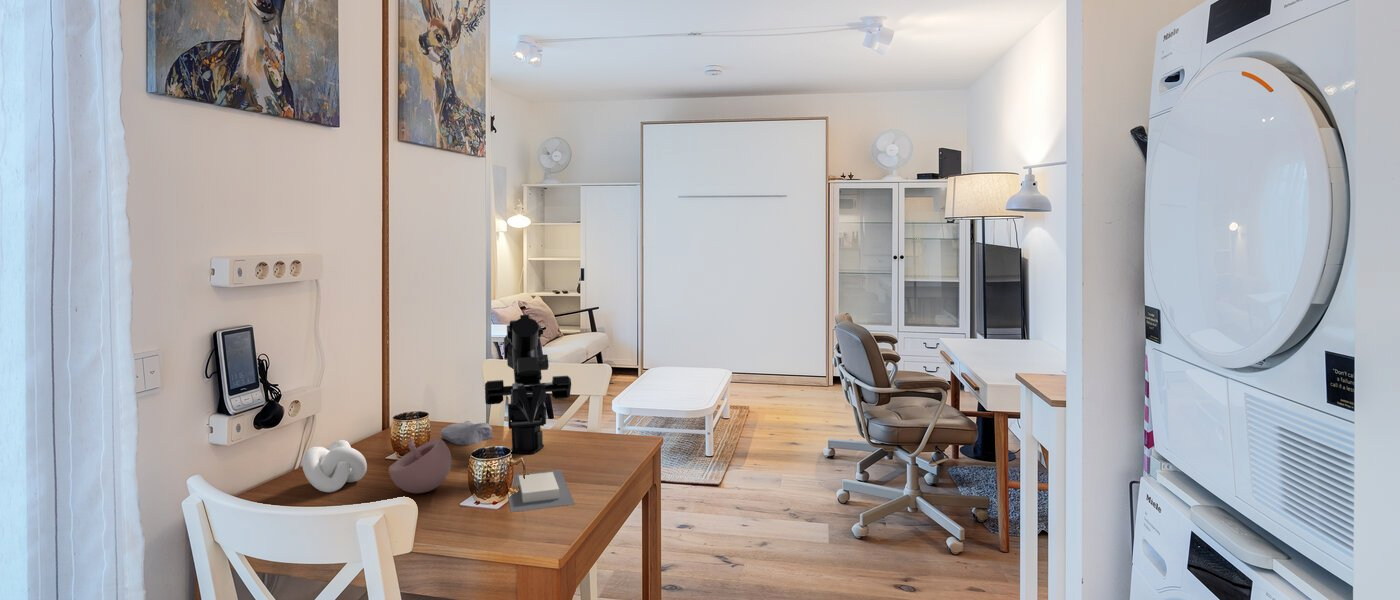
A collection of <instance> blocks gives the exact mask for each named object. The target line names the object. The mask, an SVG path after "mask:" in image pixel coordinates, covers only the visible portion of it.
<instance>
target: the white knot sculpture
mask: <svg viewBox="0 0 1400 600" xmlns="http://www.w3.org/2000/svg"><path fill="white" fill-rule="evenodd" d="M301 465H302V470H303V473H304V475H305V477H306V479H307V481H308V482H309V484H310V485H312V487H314V488H315V489H317V490H318V491H320V492H324V493H334V492H337V491H338V490H340V489H341V488H342V487H343V486H344V485H345V484H346V483H355V482H357V481H360V480H361V479H363V478H364V476H365V474H367V469H368V464H367V460H366V458H365V456H364V455H363V454H362V453H361V452H360V451H359V450H357V449H355V448H353V447H351V445H350V443H349V442H348V441H347V440H344V439H339V440H336V441H334V442H333V443H331V445H329V447H328V448H325V447H323V446H312V447H311V448H308V449H307V450H306V451H305V452H304V454H303V456H302V460H301Z"/></svg>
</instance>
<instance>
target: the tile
mask: <svg viewBox="0 0 1400 600" xmlns="http://www.w3.org/2000/svg"><path fill="white" fill-rule="evenodd" d="M519 488H520V493H521V497H522V502H523V503H530V502H538V501H546V500H554V499H559V487H558V485H557V482H556V479H555V477H554V474H553V472H548V473H539V474H530V475H525V479H524V478H523V475H521V476H519Z"/></svg>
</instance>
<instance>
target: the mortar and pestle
mask: <svg viewBox="0 0 1400 600" xmlns="http://www.w3.org/2000/svg"><path fill="white" fill-rule="evenodd" d="M408 449H409V450H410V451H408V452H407V453H405V454H404V455H403V456H402V457H400V458H398V459H397V460H396V461H395V462H393V463H392V464H391V465H390V466H389V467H388V473H389V477H390V478H391V480H392V481H393V483H394V484H395V485H396V486H397V488H398V489H401V490H402V491H404V492H407V493H411V494H424V493H428V492H431V491H433V490H435V489H437V488H438V487H439V486H441V485H442V483H444V481H446V478H448V476H449V474H450V472H451V467H452V454H451V451H450V449H449V447H448V445H447V444H446V442H445V441H444V440H443V439H442V438H439V437H438V438H434V439H431V440H430V441H426V442H425V443H424V444H421V445H419V446H418V447H416V444H415V439H414V438H413V437H409V438H408Z"/></svg>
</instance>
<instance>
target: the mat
mask: <svg viewBox="0 0 1400 600" xmlns="http://www.w3.org/2000/svg"><path fill="white" fill-rule="evenodd" d="M548 472H553V474H554V477H555V479H556V482H557V485H558V487H559V499H554V500H546V501H538V502H530V503H523V502H522V497H521V493H520V488H519V485H518V483H519V476H521V475H523V474H524V473H518V474H513V475H514V482H513V487H515V486H516V484H517V485H518V488H519V491H518V492H517V493H514V494H512V495H511V496H510V497H509V498H508V497H507V499H508V504H509V509H510V513H517V512H524V511H533V510H534V511H535V510H540V509H549V508H557V507H564V506H565V507H566V506H571V505H575V504H576V503H575V500H574V498H573V496H572V493H571V491H570V488H569V486H568V484H567V482H566V479H565V477H564V475H563V472H562V470H561V469H554V470H544V471H538V472H537V471H535V472H527V473H529V475H530V474H539V473H548ZM527 473H525V474H526V475H527Z"/></svg>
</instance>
